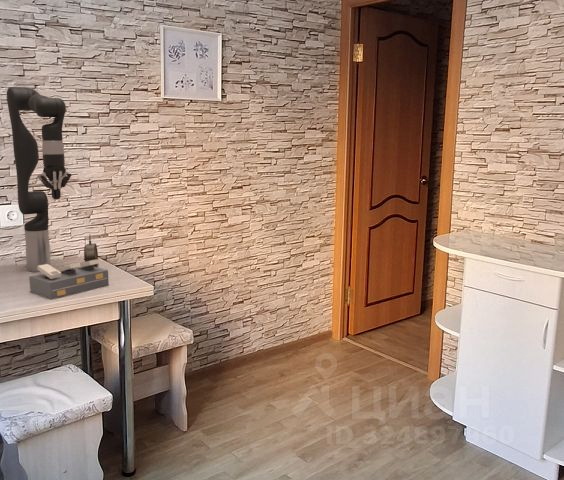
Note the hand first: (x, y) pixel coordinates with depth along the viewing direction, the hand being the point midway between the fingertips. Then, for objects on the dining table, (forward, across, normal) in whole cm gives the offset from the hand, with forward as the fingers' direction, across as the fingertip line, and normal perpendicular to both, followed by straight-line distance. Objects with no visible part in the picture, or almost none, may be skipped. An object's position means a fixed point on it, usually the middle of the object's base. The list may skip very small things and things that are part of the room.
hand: (56, 199), depth 220 cm
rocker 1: (+25, +10, +9) cm, 28 cm away
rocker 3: (+25, -6, +9) cm, 27 cm away
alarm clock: (+33, -18, -7) cm, 38 cm away
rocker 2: (+25, +2, +9) cm, 26 cm away
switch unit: (+33, +2, +9) cm, 34 cm away
